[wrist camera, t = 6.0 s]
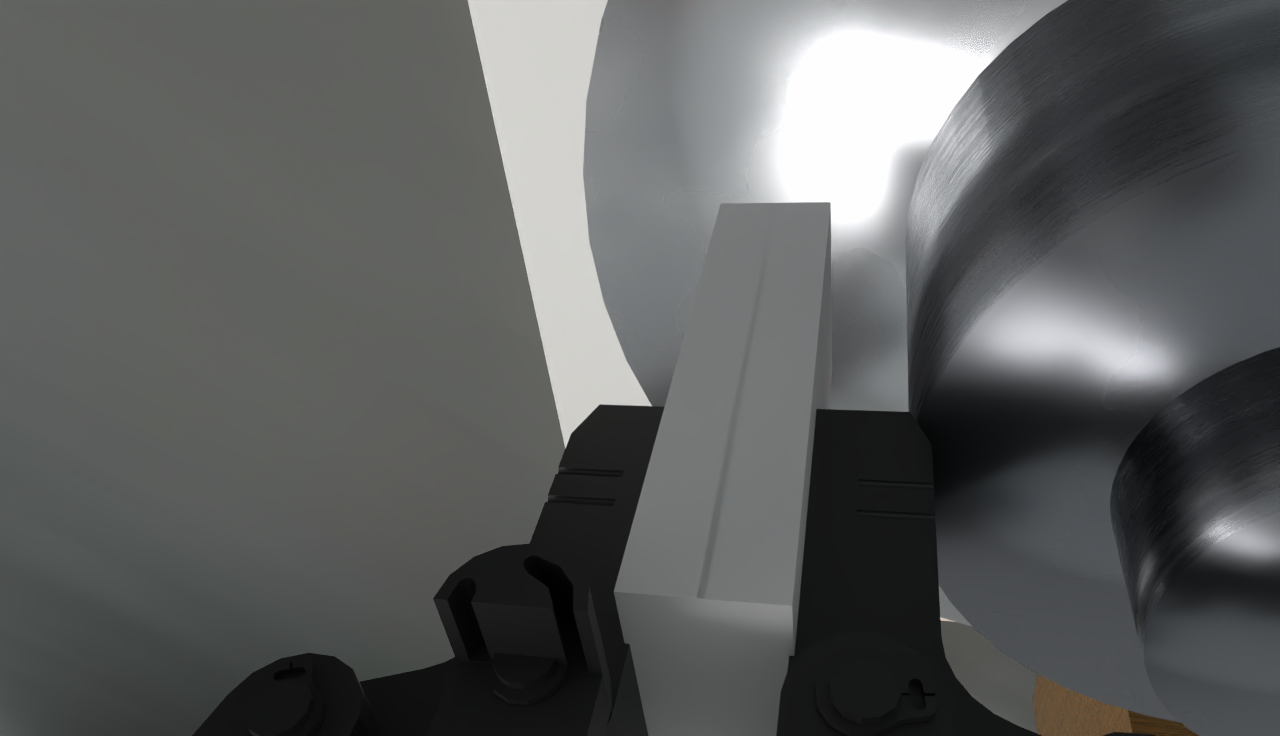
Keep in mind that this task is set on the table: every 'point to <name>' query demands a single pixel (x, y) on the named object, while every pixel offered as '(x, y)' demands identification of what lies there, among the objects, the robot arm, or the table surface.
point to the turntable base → (554, 189)
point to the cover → (1112, 355)
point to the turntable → (788, 180)
